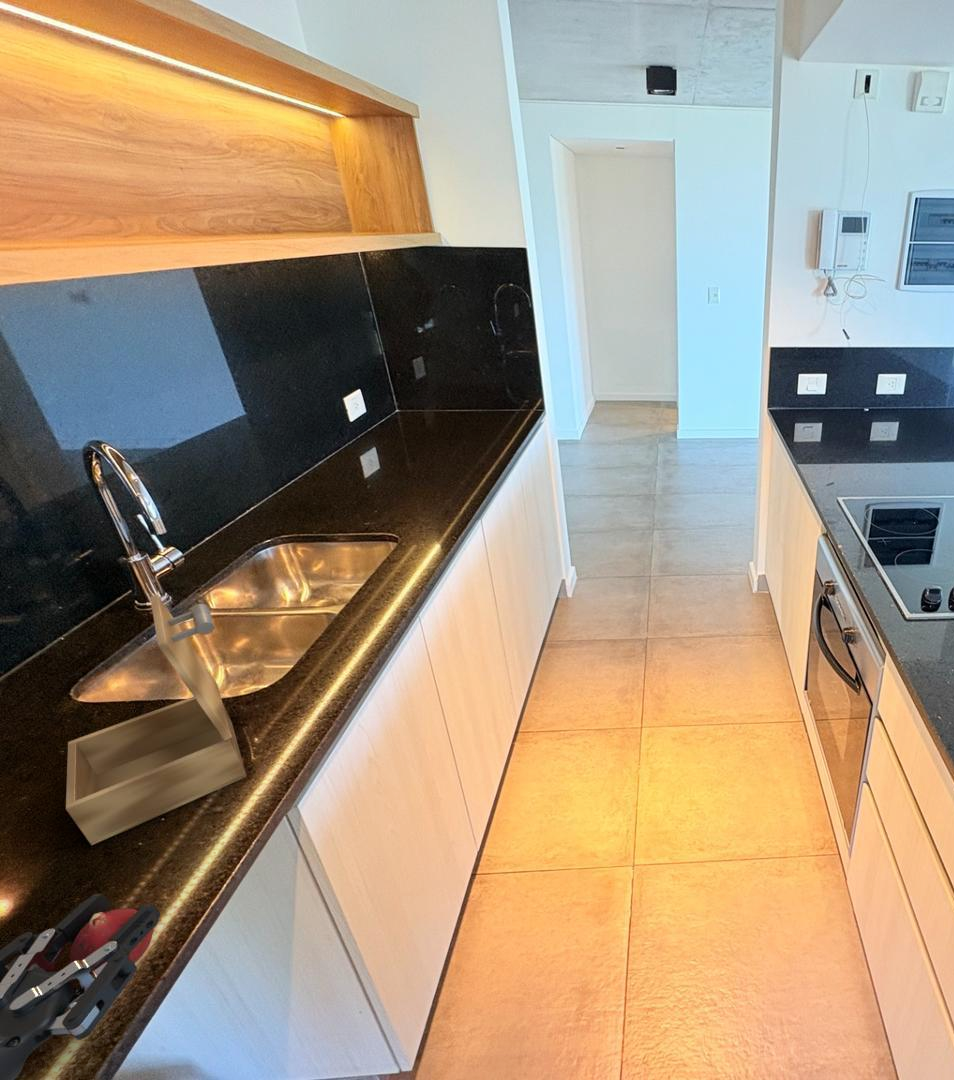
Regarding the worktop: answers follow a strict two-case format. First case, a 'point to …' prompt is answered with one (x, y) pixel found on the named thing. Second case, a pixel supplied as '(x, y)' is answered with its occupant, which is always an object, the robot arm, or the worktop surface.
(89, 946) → the onion
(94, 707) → the worktop surface
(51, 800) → the worktop surface
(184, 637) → the lid
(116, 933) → the robot arm
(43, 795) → the worktop surface
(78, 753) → the breadbox
